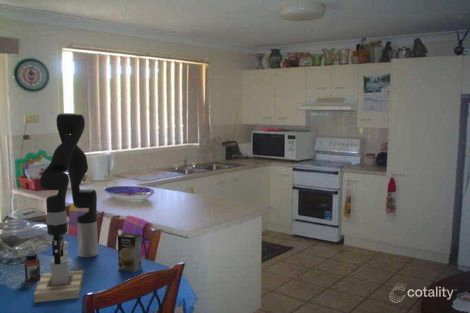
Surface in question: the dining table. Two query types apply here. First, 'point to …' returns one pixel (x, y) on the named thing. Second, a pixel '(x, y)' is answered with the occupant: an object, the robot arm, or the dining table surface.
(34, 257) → the supplement bottle
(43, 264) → the dining table surface
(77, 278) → the collar block
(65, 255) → the duck figurine
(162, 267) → the dining table surface
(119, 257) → the coffee box
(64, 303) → the dining table surface
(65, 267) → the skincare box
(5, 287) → the dining table surface
